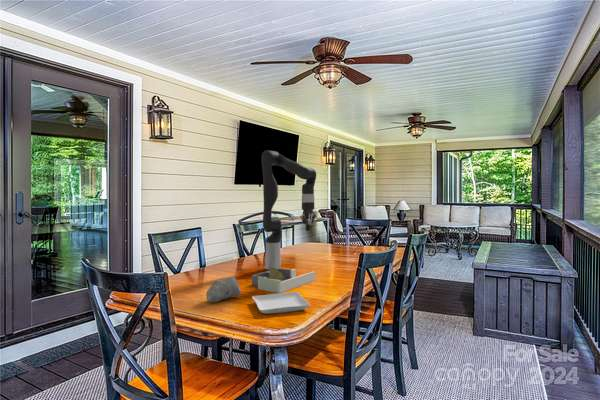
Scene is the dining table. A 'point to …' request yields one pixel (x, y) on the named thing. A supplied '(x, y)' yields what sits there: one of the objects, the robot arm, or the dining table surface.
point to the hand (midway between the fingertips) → (308, 230)
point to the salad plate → (280, 302)
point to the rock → (276, 275)
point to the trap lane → (278, 285)
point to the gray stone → (223, 289)
